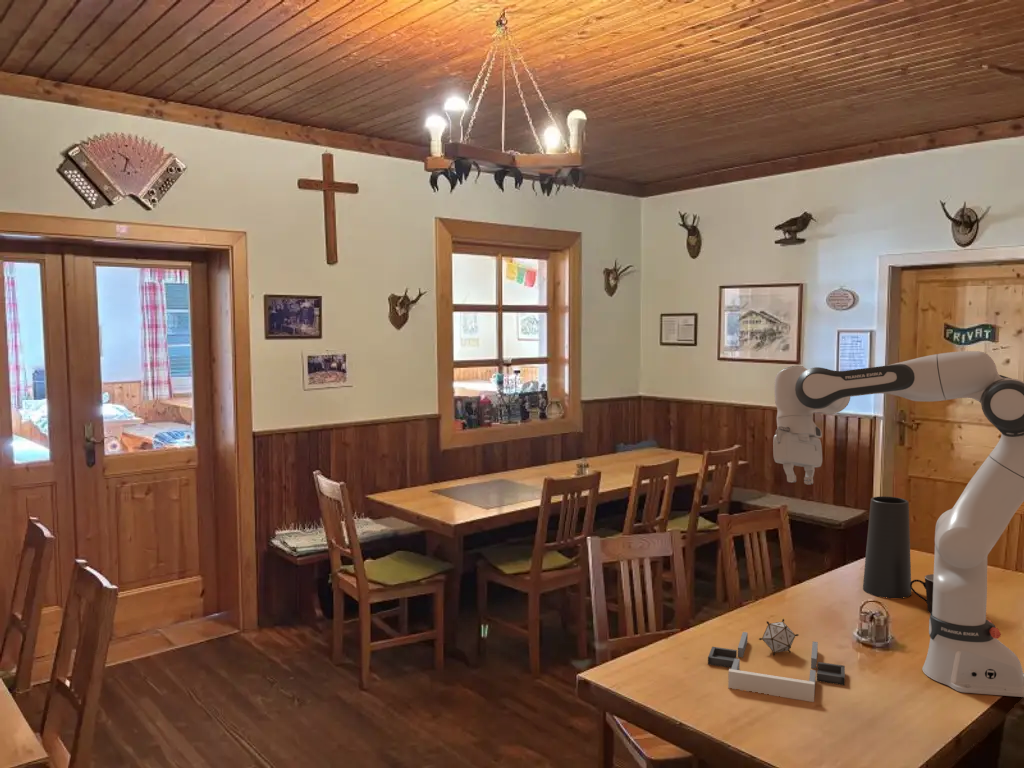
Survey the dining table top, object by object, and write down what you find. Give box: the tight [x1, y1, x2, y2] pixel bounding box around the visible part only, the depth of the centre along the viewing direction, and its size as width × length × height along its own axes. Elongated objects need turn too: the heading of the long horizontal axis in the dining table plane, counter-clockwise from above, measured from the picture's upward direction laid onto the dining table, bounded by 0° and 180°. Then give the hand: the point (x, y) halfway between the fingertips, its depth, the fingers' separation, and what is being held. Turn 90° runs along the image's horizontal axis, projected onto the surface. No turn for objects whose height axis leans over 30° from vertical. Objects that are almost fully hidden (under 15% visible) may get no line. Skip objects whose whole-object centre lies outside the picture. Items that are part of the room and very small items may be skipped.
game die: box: [758, 618, 799, 657], centre depth 203 cm, size 9×8×10 cm
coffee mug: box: [910, 573, 934, 614], centre depth 231 cm, size 12×9×10 cm
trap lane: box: [707, 631, 846, 703], centre depth 193 cm, size 31×29×4 cm
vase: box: [862, 495, 912, 599], centre depth 248 cm, size 14×14×29 cm
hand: (800, 483), depth 203 cm, fingers open, 8 cm apart
